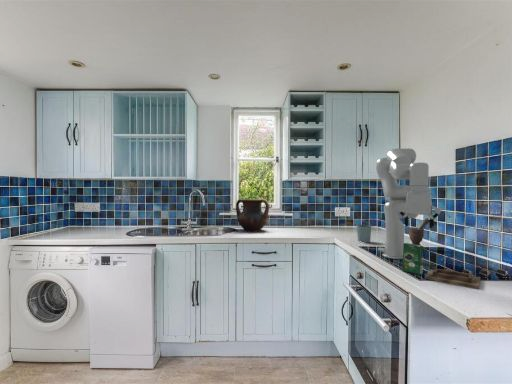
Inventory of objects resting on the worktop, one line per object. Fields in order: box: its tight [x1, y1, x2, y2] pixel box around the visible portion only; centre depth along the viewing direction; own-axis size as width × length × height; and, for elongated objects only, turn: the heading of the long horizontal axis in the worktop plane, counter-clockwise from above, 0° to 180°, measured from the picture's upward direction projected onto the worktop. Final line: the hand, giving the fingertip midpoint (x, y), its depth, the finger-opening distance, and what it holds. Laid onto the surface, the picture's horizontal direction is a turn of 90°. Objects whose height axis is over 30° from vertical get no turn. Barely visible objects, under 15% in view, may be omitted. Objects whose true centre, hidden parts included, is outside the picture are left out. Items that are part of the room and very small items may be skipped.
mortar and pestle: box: [408, 218, 430, 246], centre depth 183 cm, size 12×9×20 cm
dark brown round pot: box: [235, 198, 270, 233], centre depth 259 cm, size 32×28×30 cm
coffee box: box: [402, 242, 424, 276], centre depth 128 cm, size 8×3×13 cm, turn 35°
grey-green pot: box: [356, 224, 372, 243], centre depth 205 cm, size 10×10×12 cm
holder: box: [424, 268, 481, 290], centre depth 118 cm, size 18×14×3 cm
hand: (418, 227), depth 128 cm, fingers open, 9 cm apart
